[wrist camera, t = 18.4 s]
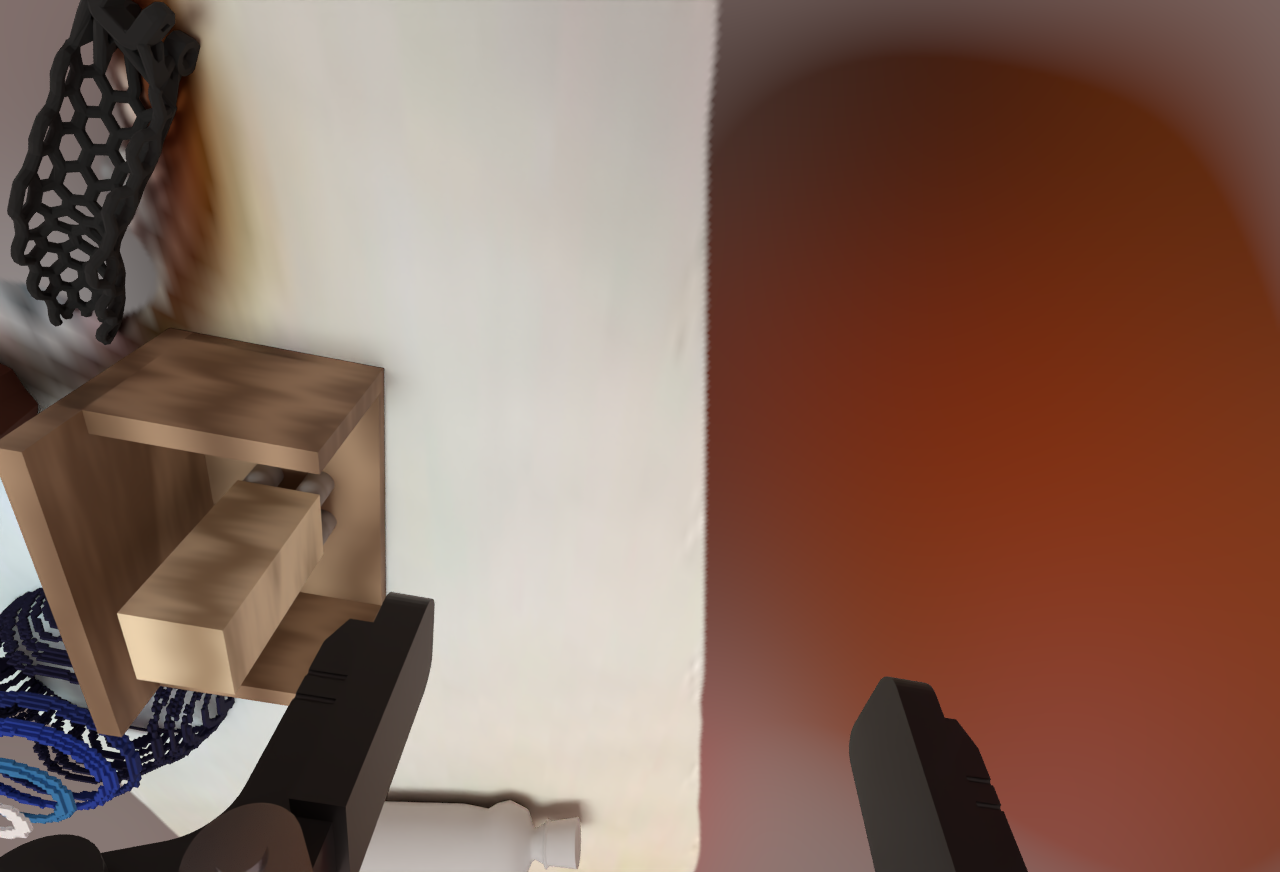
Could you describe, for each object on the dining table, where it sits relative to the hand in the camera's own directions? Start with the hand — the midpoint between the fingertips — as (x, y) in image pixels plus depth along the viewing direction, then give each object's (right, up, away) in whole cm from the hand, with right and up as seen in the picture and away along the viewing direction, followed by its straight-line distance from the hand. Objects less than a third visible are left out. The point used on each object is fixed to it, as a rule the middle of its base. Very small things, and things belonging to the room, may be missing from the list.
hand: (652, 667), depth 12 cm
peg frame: (-25, 0, +39) cm, 47 cm away
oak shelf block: (-25, -2, +36) cm, 44 cm away
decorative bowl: (-48, -17, +51) cm, 72 cm away
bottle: (-21, -36, +62) cm, 75 cm away
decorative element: (-29, +20, +28) cm, 45 cm away
